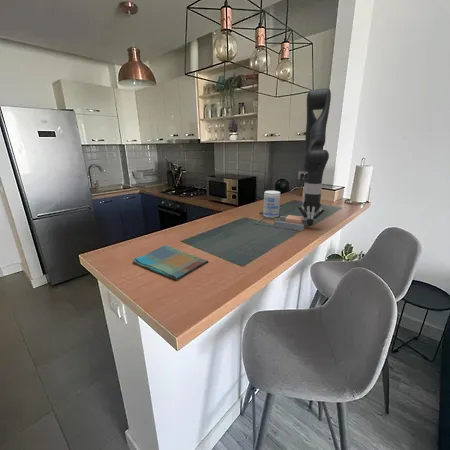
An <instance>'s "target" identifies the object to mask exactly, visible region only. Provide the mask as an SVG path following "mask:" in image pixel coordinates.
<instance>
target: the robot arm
mask: <svg viewBox="0 0 450 450" xmlns="http://www.w3.org/2000/svg"><path fill="white" fill-rule="evenodd" d="M331 99H332V92H331V89H330V88H327V87H326V88H317V89H310V90H309V91H308V92H307V95H306V126H305V146H304V147H305V148H304V149H305V151H304V159H303V170H304V172H307V173H306V174H307V175H306V177H305V178H304V183H303V185H304V186H303V197H302V205H301V206H299V207H298V210H299V212H300V213H301V215H302V217H304V218H305V219H307V225H306V226H308V227H312V226H313V225H314V220H315V219H318V218H319V217H320V216H321V215H322V214H323V213H325V208H323V207H322V204H321V198H322V192H323V191H322V189H323V188H322V187H323V186H322V185H323V175H324V171H325V169H326V166H327V164H328V160H329V158H330V154H329V152H328V150H327V149H320V148H322V147H325V144H326V136H327V135H326V134H327V124H328V119H329V115H330V109H331V107H330V106H331V101H332V100H331ZM318 110H319V111H320V110H322V112H321V113H320V115H319V116H318V118H317V117H316V115H315V112H314V111H318ZM315 213H316V214H315Z"/></svg>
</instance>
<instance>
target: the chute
mask: <svg viewBox="0 0 450 450" xmlns="http://www.w3.org/2000/svg"><path fill="white" fill-rule="evenodd" d="M286 217H287V216H284V215H279V220H280V221H276V220H273V227H274V228H280V229H285V228H286V230H292V229H293V231H294V230H295V231H300V232H304V230H305V226H308V225H307V218H303V224H296V223H289V222H285V218H286Z"/></svg>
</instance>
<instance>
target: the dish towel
mask: <svg viewBox="0 0 450 450" xmlns="http://www.w3.org/2000/svg"><path fill="white" fill-rule="evenodd" d="M208 263H209V260H208V259H205V258H201V257H199V256H196V255H193V254H191V253H188V252H185V251H181V250H180V249H179V250H178V249H176V248H174V247H173V246H170V245H162V246H160V247H159V248H157V249H154V250H152V251H150V252H148V253H147V254H144V255H141V256H138V257H134V259H132V264H134V265H136V266H137V267H138V266H139V267H141V268H145V269H147V270H150V271H153V272H155V273H156V274H158V275H161V276H164V277H166V278H169V279H172V280H174V281H176V282H177V281H179V280H181V279H183V278H184V277H186V276H188V275H190V274H191V273H193V272H195V271H197V270H198V269H200V268H202V267H204V266H205V265H207V264H208Z"/></svg>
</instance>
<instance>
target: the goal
mask: <svg viewBox="0 0 450 450" xmlns="http://www.w3.org/2000/svg"><path fill="white" fill-rule="evenodd" d="M263 220H270V221H280V219H276V218H268V217H262V218H259V220H257V221H256V222H255V225H260V226H266V227H274V224H266V223H260V222H261V221H263Z"/></svg>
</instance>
